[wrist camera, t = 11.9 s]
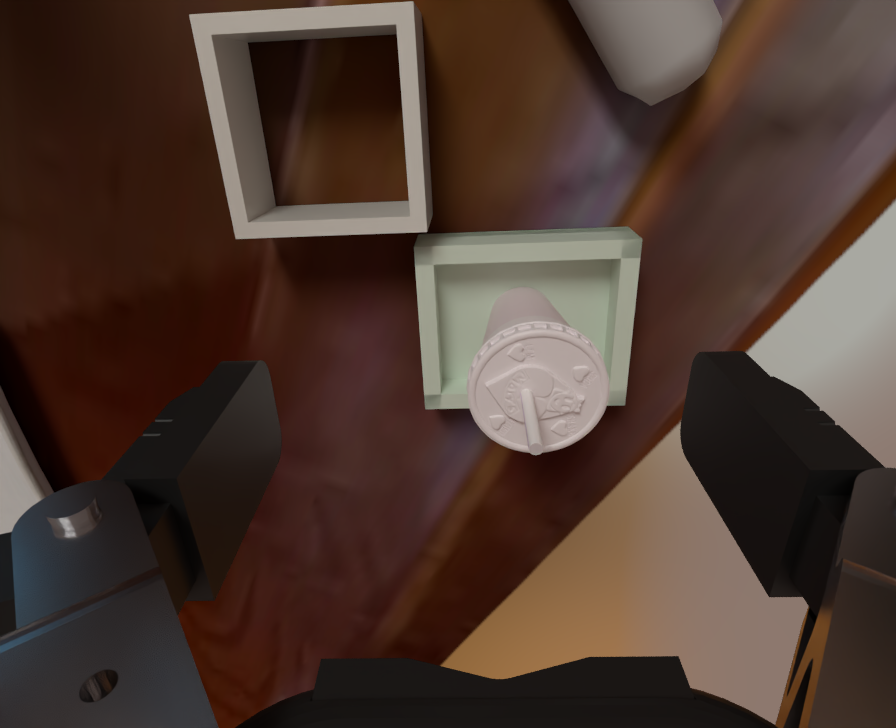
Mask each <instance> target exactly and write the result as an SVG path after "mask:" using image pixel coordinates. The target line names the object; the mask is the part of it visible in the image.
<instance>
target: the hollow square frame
mask: <svg viewBox="0 0 896 728" xmlns="http://www.w3.org/2000/svg"><path fill="white" fill-rule="evenodd" d="M189 17H190V22H191V26H192V31H193V36H194V41H195V46H196V50H197V55H198V60H199V65H200V70H201V74H202V79H203V84H204V89H205V94H206V98H207V103H208V108H209V113H210V118H211V122H212V127H213V132H214V137H215V142H216V146H217V151H218V156H219V161H220V166H221V170H222V175H223V180H224V185H225V190H226V195H227V199H228V204H229V209H230V214H231V219H232V223H233V228H234V233H235V238H236V239H250V238H277V237H305V236H333V235H360V234H388V233H416V232H427V231H428V228H429V225H430V222H431V219H432V216H433V208H432V190H431V172H430V154H429V136H428V117H427V99H426V81H425V63H424V45H423V27H422V14H421V12H420V11H419V9H418V8H417V6H416V5H415V3H414V2H413V1H412V2H395V3H378V4H361V5H344V6H327V7H310V8H293V9H276V10H259V11H242V12H224V13H207V14H190V15H189ZM393 34H397V43H398V56H399V70H400V84H401V98H402V111H403V125H404V139H405V153H406V166H407V180H408V194H409V201H394V202H369V203H344V204H318V205H293V206H276V204H275V198H274V192H273V186H272V180H271V175H270V169H269V163H268V157H267V151H266V146H265V140H264V134H263V128H262V122H261V117H260V111H259V105H258V99H257V94H256V88H255V82H254V76H253V70H252V65H251V59H250V53H249V47H248V43H249V42H267V41H285V40H303V39H321V38H339V37H357V36H375V35H393Z"/></svg>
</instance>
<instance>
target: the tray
mask: <svg viewBox="0 0 896 728" xmlns="http://www.w3.org/2000/svg"><path fill="white" fill-rule="evenodd" d="M641 247H642V238H641V237H639V236H638V235H637V234H636V233H635V232H634V231H633V230H631V229H630V228H629V227H603V228H575V229H548V230H520V231H492V232H464V233H437V234H418V237H417V239H416V242H415V245H414V258H415V272H416V286H417V300H418V314H419V328H420V342H421V356H422V370H423V384H424V398H425V409H461V408H470V407H469V403H468V393H467V378H468V371H469V369H470V366H471V364H472V361H473V359H474V357H475V355H476V354H477V352H478V351H479V350H480V349H481V347H482V344H483V340H484V336H485V332H486V329H487V325H488V321H489V317H490V314H491V310H492V307H493V305H494V303H495V301H496V300H497V299H498V297H499V296H500V295H502V294H503V293H504V292H506V291H508V290H510V289H512V288H516V287H530V288H533V289H536V290H538V291H540V292H541V293H542V294H544V295H545V296H546V298H547V299H548V300H549V301H550V302H551V304H552V305H553V306H554V307H555V308H556V310H557V311H558V312H559V313H560V314H561V316H562V317H563V318H564V319H565V321H566V322H567V323H568V324H569V325H570V327H572V328H574V329H576V330H577V331H579V332H580V333H582V334H583V335H585V336H586V337H587V338H589V339H590V340H591V341H592V343H593V344H594V345H595V346H596V348H597V349H598V350H599V351H600V353H601V356H602V358H603V361H604V363H605V366H606V370H607V373H608V377H609V384H610V392H609V399H608V403H607V406H618V405H625V400H626V391H627V381H628V371H629V362H630V352H631V343H632V333H633V324H634V314H635V305H636V295H637V285H638V276H639V266H640V257H641Z"/></svg>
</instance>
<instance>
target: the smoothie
mask: <svg viewBox="0 0 896 728" xmlns="http://www.w3.org/2000/svg"><path fill="white" fill-rule="evenodd" d="M609 392H610V384H609V377H608V373H607V370H606V366H605V363H604V361H603V358H602V356H601V353H600V351H599V350H598V349H597V348H596V346H595V345H594V344H593V343H592V341H591V340H590V339H589V338H587V337H586V336H585V335H583V334H582V333H580V332H579V331H577V330H576V329H574V328H572V327H570V325H569V324H568V323H567V322H566V321H565V319H564V318H563V317H562V316H561V314H560V313H559V312H558V311H557V310H556V308H555V307H554V306H553V305H552V304H551V302H550V301H549V300H548V299H547V298H546V296H545V295H544V294H542V293H541V292H540V291H538V290H536V289H533V288H530V287H516V288H512V289H510V290H508V291H506V292H504V293H503V294H502V295H500V296H499V297H498V299H497V300H496V301H495V303H494V305H493V307H492V310H491V314H490V317H489V321H488V325H487V329H486V332H485V336H484V340H483V344H482V347H481V349H480V350H479V351H478V352H477V354H476V355H475V357H474V359H473V361H472V364H471V366H470V369H469V371H468V378H467V393H468V403H469V407H470V411H471V414H472V416H473V418H474V420H475V422H476V423H477V425H478V426H479V428H480V429H481V430H482V431H483V432H484V433H485V434H486V435H487V436H488V437H489V438H491V439H492V440H494V441H495V442H497V443H498V444H500V445H502V446H504V447H507V448H510V449H512V450H516V451H521V452H528V453H531V454H533V455H539V454H541V453H542V452H550V451H555V450H559V449H562V448H565V447H567V446H569V445H571V444H573V443H575V442H577V441H578V440H580V439H582V438H583V437H584V436H585V435H587V434H588V433H589V432H590V431H591V430H592V429H593V428H594V427H595V426H596V425H597V423H598V422H599V420H600V419H601V417H602V415H603V414H604V411H605V409H606V406H607V403H608V399H609Z"/></svg>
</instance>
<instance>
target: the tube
mask: <svg viewBox="0 0 896 728" xmlns="http://www.w3.org/2000/svg"><path fill="white" fill-rule="evenodd" d="M568 1H569V3H570V5H571V7H572V8H573V10H574V12H575V14H576V15H577V17H578V19H579V21H580V23H581V24H582V26H583V28H584V30H585V32H586V33H587V35H588V37H589V39H590V40H591V42H592V44H593V46H594V48H595V49H596V51H597V53H598V55H599V57H600V58H601V60H602V62H603V64H604V66H605V67H606V69H607V71H608V73H609V74H610V76H611V78H612V80H613V82H614V83H615V85H616V87H617V89H618V90H620V91H622V92H625V93H627V94H629V95H632V96H634V97H636V98H638V99H640V100H642V101H644V102H645V103H647V104H648V105H650V106H652V105H654V104H656V103H658V102H660V101H663V100H665V99H667V98H669V97H671V96H673V95H675V94H677V93H679V92H681V91H683V90H685V89H686V88H687V87H688V86H690V85H691V84H692V83H693V82H695V81H696V80H697V79H698V78H699V77H701V76H702V75H703V74H704V73H705V71H706V70H707V68H708V66H709V64H710V62H711V60H712V58H713V57H714V55H715V53H716V51H717V47H718V42H719V36H720V31H721V26H722V19H721V16H720V14H719V12H718V10H717V8H716V6H715V4H714V1H713V0H568Z"/></svg>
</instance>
